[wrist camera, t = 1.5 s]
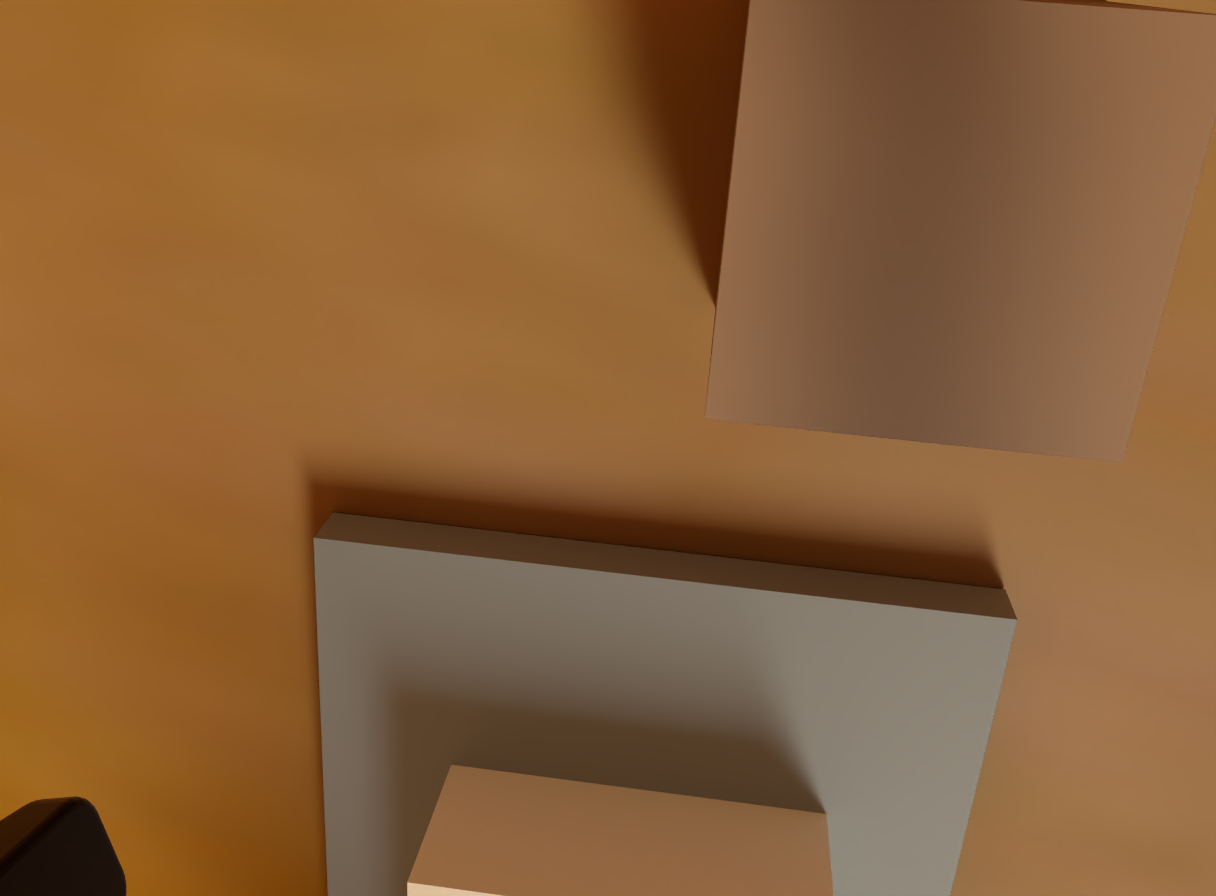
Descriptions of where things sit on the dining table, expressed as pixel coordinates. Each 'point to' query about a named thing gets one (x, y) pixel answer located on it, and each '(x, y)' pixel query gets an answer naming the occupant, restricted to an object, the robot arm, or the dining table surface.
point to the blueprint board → (641, 718)
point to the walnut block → (957, 217)
